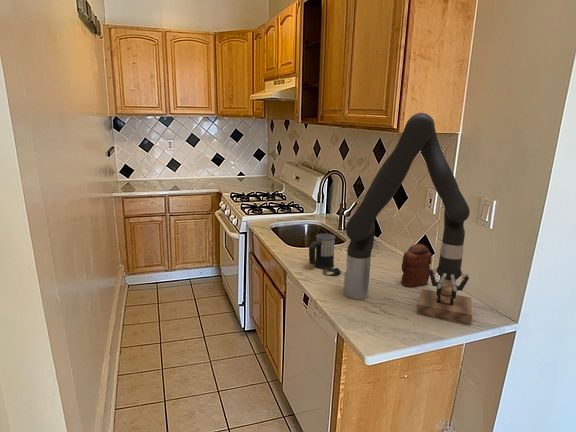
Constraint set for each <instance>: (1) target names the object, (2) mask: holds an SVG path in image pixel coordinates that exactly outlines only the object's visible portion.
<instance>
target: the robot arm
mask: <svg viewBox="0 0 576 432" xmlns="http://www.w3.org/2000/svg"><path fill="white" fill-rule="evenodd" d="M419 153H421V154H422V157H423V159H424V162H425V164H426V167H427V172H428V174H429V177H430V179H431V182H432V184H433V186H434V188H435V191H436V193H437V195H438V196H439V197H440V200H441V201H442V204H443V206H444V212H443V213H444V214H443V218H444V219H443V223H444V225H443V234H442V241H441V245H440V251H439V258H438V260H439V261H438V267H436V268H434V269H433V268H430V270H429V274H430V275H429V279H430V281H431V285H432V286H433V287H436V291H437V292H436V295H437V296H438V297H439V298H440V292H441V286H442V284H443V282H444V279H446V280H452V286H453V290H452V297H451V300H453V299H455V298H456V295H457V292H458V291H460V292H462V291H463V290H464V289H465V286H466V284H467V283H468V281H469V278H470V276H469V274H465V273H463V271H462V264H463V263H462V262H463V258H464V257H463V256H464V243H465V237H466V235H465V234H466V232H465V231H466V230H465V227H464V226H465V225H464V224H465V221H466V220H468V218H469V217H470V213H471V211H470V207H469V205H468V203H467V200H465V198H464V196H463V193H462V192H461V191H460V190H461V189H460V188H459V185H458V183H457V180H456V177H455V176H454V174H453V171H452V169H451V167H450V165H449V162H448V161H447V159H446V157H445V155H444V152H443V150H442V148H441V146H440V142H439V140H438V136H437V133H436V124H435V121H434V119H433V117H432V115H430V114H428V113H426V112H417V113H414V115H412V116H410V118H409V119H408V120H407V121H406V123H405V126H404V128H403V131H402V134H401V135H400V138H399V140H398V142H397V144H396V146H395V148H394V149H393V151H392V152H391V154H389V155H388V157H387V158H386V160H385V161H384V162H383V164H382V165H381V166H380V168H379V170H378V171H377V173H376V175H375V176H374V178H373V179H372V181H371V184H370V185H369V187H368V189H367V191H366V193H365V196H364V197H363V198H362V202H361V203H360V205H359V206H358V208H357V210H355V212H354V213H353V215H352V216H351V217H350V218H349V219H348V221H347V223H346V226H345V232H346V236H347V237H348V238H349V239H350V242H349V244H348V246H347V249H346V250H347V251H346V253H347V254H346V269H345V272H344V280H343V282H344V283H343V296H346V297H348V298H349V299H352V300H364V299H367V298H368V297H369V288H370V287H369V286H370V275H371V274H370V273H371V259H372V257H371V256H372V250H373V247H374V243H375V242H374V241H375V232H376V225H375V221H376V218H377V217H378V215H379V214H380V212H382V210H383V209H384V208H385V207H386V206H387V205H388V203H389V202H391V200H392V198H393V197H394V196H395V195H396V193H397V191H398V190H399V188H400V187H401V185H402V184H403V182H404V180H405V179H406V177H407V175H408V172H409V170H410V168H411V166H412V164H413V161H414V159H416V157H417V155H418V154H419ZM436 274H438V276H439V277H440V278H439V280H438V282H437V279H436V277H435V276H436ZM459 278H461V282H459V283H460V284H459V285H457V284H458V283H457V280H458V279H459Z"/></svg>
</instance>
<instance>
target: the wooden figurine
mask: <svg viewBox="0 0 576 432" xmlns="http://www.w3.org/2000/svg"><path fill="white" fill-rule="evenodd" d="M432 257H433V256H432V253H431V252H430V250H429V248H428V247H427V246H426V245H425V244H422V243H415V244H412V245H411V246H409V248H408V249H407V251H406V252H404V254H403V256H402V264H401V271H402V277H401V281H400V283H401V284H400V285H403V287H409V288H410V287H411V288H413V287H414V288H415V287H420V286H426V285H427V284H428V282H429V280H430V274H429V270H430V269H431V266H430V265H431V264H432Z"/></svg>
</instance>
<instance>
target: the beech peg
mask: <svg viewBox="0 0 576 432" xmlns="http://www.w3.org/2000/svg"><path fill="white" fill-rule="evenodd" d="M452 290H453V286H452V280H446V279H444V282H443V284H442V286H441V292H440V294H441V296H440V303H441V304H446V305H450V302H451V296H452Z"/></svg>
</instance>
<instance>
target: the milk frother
mask: <svg viewBox="0 0 576 432" xmlns="http://www.w3.org/2000/svg"><path fill="white" fill-rule="evenodd" d="M315 237H316V240H314V241H312V242H311V243H310V245H309V246H308V260H309V262H308V263H309V264H310V265H312V266H315V268H318V269H322V270H326V271H329V272H332V273H334V274H335V275H338V274H341V273H342V271H341V270H340V269H339V267H335V264H334V260H335V259H334V258H335V257H334V256H335V241H336V240H335V239H336V235H334V234H332V233H331V234H330V233H319V234H317V235H315Z"/></svg>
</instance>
